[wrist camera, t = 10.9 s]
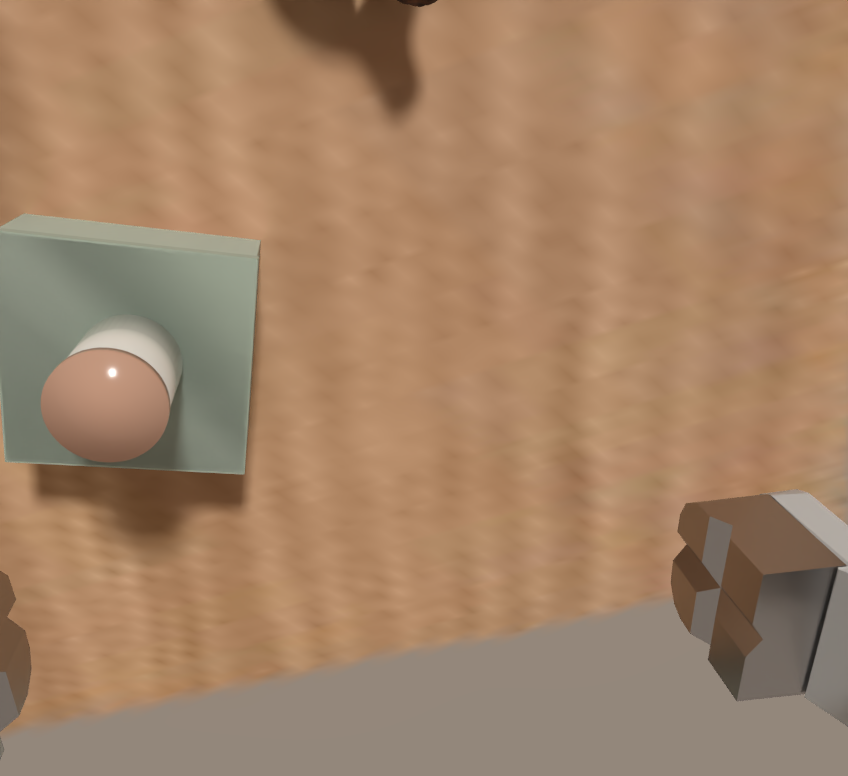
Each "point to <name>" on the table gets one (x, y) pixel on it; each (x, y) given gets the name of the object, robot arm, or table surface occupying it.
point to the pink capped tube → (114, 390)
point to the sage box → (131, 295)
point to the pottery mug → (417, 2)
